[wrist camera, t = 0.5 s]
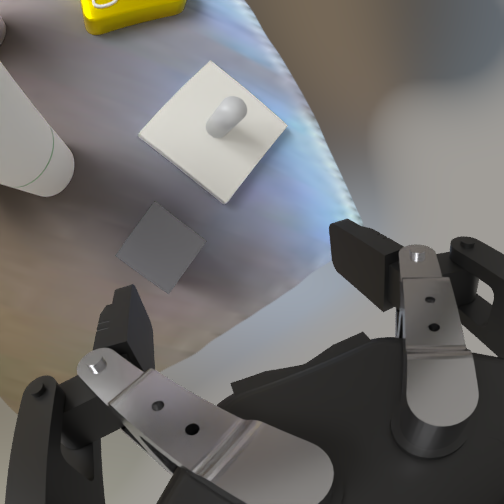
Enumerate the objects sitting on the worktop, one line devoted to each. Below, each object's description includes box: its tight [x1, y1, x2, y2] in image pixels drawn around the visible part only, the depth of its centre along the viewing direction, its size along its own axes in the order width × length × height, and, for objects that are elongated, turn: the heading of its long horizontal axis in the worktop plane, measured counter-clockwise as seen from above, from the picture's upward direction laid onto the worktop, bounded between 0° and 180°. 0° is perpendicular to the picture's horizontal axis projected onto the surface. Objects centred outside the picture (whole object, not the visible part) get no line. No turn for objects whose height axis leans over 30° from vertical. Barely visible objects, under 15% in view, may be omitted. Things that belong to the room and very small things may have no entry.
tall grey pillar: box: [115, 201, 207, 294], centre depth 33 cm, size 6×6×10 cm
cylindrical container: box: [0, 61, 74, 197], centre depth 21 cm, size 7×7×25 cm
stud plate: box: [138, 61, 288, 204], centre depth 35 cm, size 14×14×8 cm
